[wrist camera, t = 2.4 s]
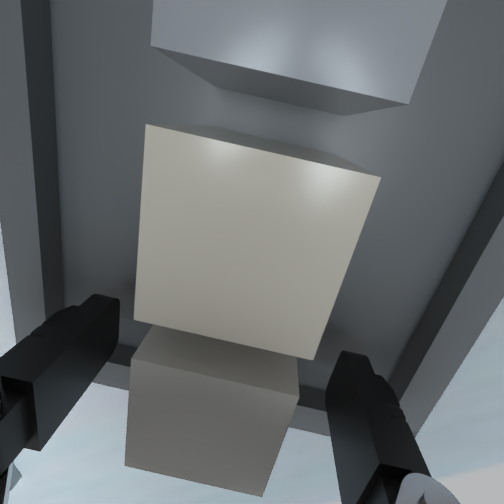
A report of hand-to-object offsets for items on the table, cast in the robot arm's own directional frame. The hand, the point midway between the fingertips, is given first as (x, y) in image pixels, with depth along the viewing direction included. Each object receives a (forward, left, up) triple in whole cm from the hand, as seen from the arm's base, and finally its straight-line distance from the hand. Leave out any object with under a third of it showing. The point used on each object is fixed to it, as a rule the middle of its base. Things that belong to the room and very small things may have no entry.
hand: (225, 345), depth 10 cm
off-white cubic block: (-5, 0, -1) cm, 5 cm away
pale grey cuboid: (0, 0, -1) cm, 1 cm away
